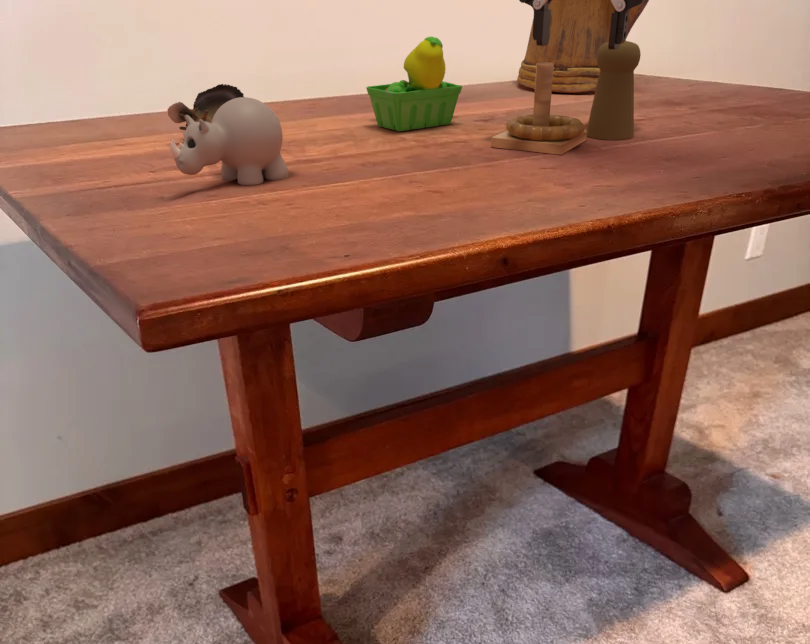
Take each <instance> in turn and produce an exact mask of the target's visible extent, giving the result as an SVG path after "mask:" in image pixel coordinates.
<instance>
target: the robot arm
mask: <svg viewBox="0 0 810 644" xmlns="http://www.w3.org/2000/svg"><path fill="white" fill-rule="evenodd" d="M518 1H519V2H520V3H521V4H526V5H528V6H530V7H531V8H532V9H533V19H532V22H533V34H532V35H533V39H534V40H536V44H537V46H545V45H548V43H549V33H550V19H551V9H548V8H549V6H550V4H551V3H552V2H553V0H518ZM610 1H611V3H612V4H613V6H614V8H615V12H613V13H612V16H611V25H610V35H609V44H608V49H612V50H616V49H619V47H620V44H622V43H624V41H625V39H626V40H627V38H626V35H627V26H628V18H629V12H630V11H631V9H632V8H634V7H637V6H639V5H642V4H645V3H647V2H648V3H649V1H648V0H610ZM648 3H647V4H648Z"/></svg>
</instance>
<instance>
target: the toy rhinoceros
mask: <svg viewBox="0 0 810 644" xmlns="http://www.w3.org/2000/svg"><path fill="white" fill-rule="evenodd" d="M185 119H186V121H185V123H186V122H187V123H186V124H188V127H187V129H186V131H185V130H184V132H183V133H182V135H183V137H184V139H183V143H182V142H179V147H178V146H177V145H176V141H175V139H174V137H172V138H171V142H170V151H171V155H172V156H173V157H174V158H173V160H174V162H175V165H176V167H177V169H178V170H179V171H180V172H181V173H182V174H184V175H188V176H194V175H195V176H196V175H198V174H200V172H201V171H202V170H203V169H204V168H205V167H206V166H214V165H216V164H218V163H219V162H220V161H221V167H220V175H221V179H222V181H223V182H224V183H229V182H231V181H235V180H237V184H239V185H241V186H256V185H260V184H263V182H264V179H265V180H270V181H277V180H278V181H279V180H285V179H288V178H289V176H290V174H289V168H288V165H287V164H286V162H285V160H284V158H283V156H282V154H281V149H282V146H283V138H284V136H283V129H282V125H281V121H280V119H279V117H278V115H277V114H276V113H275V112H274V111H273V109H271V107H270V106H269V105H267V104H266V103H265V102H264V101H263V102H262V101H261V100H259V99H256V98H253V97H245V96H244V97H240V98H235V99H232V100H230V101H228V102H226V103H224V104H223V105H222V106H221V107H220V108H219V109H218V110H217V112H216V113H215V115H214V117H213V119H212V123H209V122H205V121H203V120H202V119H200V120H199V122H195V121H194V120H193V119H192V118H191V117H190V116H188V115H185Z"/></svg>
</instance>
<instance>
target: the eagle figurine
mask: <svg viewBox="0 0 810 644" xmlns="http://www.w3.org/2000/svg"><path fill="white" fill-rule="evenodd" d="M244 95H245V94H244V93H243V92H242V91H241V89H239V88H238V87H237V86H233V85H230V84H226V83H225V84H224V83H221V84H217V85H216V86H213V87H211V88H207V89H206V90H204V91H200V92H198V93H197V95H196V97H195V99H194V102H193V104H192V105H193V107H192V109H191V108H190V107H188V106H187V105H186V104H184V103H183V102H182V101H178V102H174V103H172V104H171V105H169V106H168V108H167V110H166V111H167V116H168V117H169V118H170V120H171V121H172V122H173V123H175V124H182V123H185V126H183V125H182V126H179V127H178V129H179V130H181V131H184V132H185V131H186V129H187V127H188V124H187V122H186V119H185V115H188V116H190V117H191V118H192V119H193V120H194V121H195V122H199V120H200V119H202V120H203V121H205V122H209V123H212V119H213V117H214V115H215V113H216V112H217V110H218V109H219V108H220V107H221V106H222V105H223V104H224V103H226V102H228V101H230V100H232V99H235V98H240V97H245V96H244Z"/></svg>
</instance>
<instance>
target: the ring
mask: <svg viewBox="0 0 810 644" xmlns="http://www.w3.org/2000/svg"><path fill="white" fill-rule="evenodd" d="M532 124H533V114H527V115H519V116H516V117H514V118H510V119H509V120H508V121H507V123H506V125H505V128H506V131H507V130H508V132H509V134H510V135H511V136H514V137H518V138H521V139H526V140H536V141H560V140H567V139H573V138H576V137H577V136H579V135H581V134H582V133H583V132H584V130H586V128H585V124H584V123H583V122H582V121H581V120H580V119H579V118H576V117H572V116H568V115H560V114H559V115H558V114H550V119H549V127H541V126H532Z"/></svg>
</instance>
